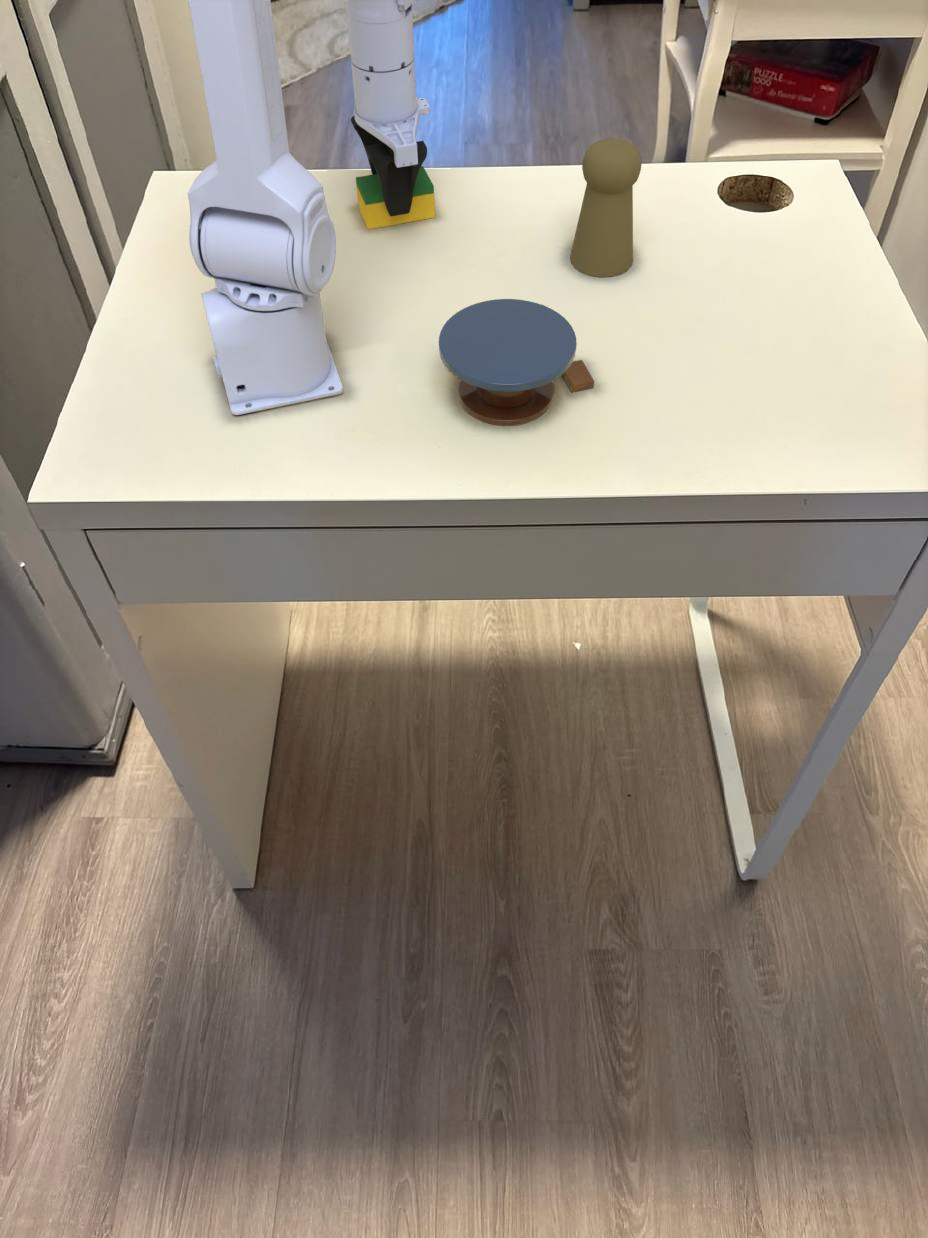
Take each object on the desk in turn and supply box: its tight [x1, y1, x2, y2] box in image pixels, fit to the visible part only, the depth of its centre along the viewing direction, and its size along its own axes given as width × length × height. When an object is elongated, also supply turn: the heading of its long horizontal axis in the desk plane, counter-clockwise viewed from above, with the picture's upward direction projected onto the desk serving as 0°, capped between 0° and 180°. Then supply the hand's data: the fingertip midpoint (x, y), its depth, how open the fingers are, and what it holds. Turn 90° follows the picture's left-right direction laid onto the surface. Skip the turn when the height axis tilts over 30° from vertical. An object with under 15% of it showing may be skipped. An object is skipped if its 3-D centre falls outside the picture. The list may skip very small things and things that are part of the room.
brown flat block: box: [561, 359, 595, 394], centre depth 84 cm, size 2×3×1 cm, turn 17°
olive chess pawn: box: [569, 137, 643, 278], centre depth 90 cm, size 6×6×11 cm
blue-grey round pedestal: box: [438, 298, 578, 427], centre depth 81 cm, size 11×11×6 cm
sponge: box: [355, 165, 436, 230], centre depth 99 cm, size 7×4×3 cm, turn 107°
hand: (393, 201), depth 99 cm, fingers closed on sponge, 4 cm apart
